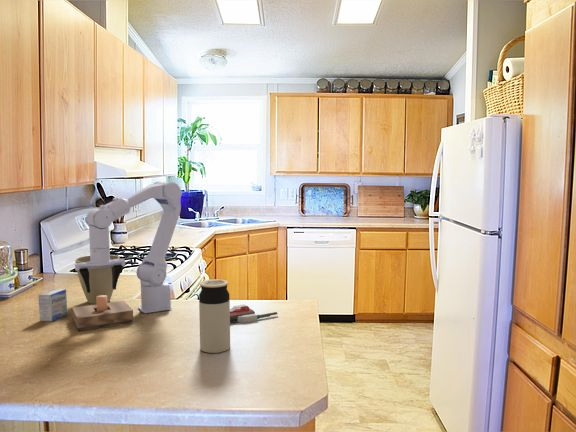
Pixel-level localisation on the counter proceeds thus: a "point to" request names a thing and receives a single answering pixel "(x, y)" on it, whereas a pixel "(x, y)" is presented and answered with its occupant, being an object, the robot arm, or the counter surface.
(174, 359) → the counter surface
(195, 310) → the counter surface
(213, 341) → the travel mug
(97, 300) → the peg
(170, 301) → the robot arm
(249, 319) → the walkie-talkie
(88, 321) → the socket board
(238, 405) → the counter surface
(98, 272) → the plant pot
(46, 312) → the medicine box
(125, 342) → the counter surface
